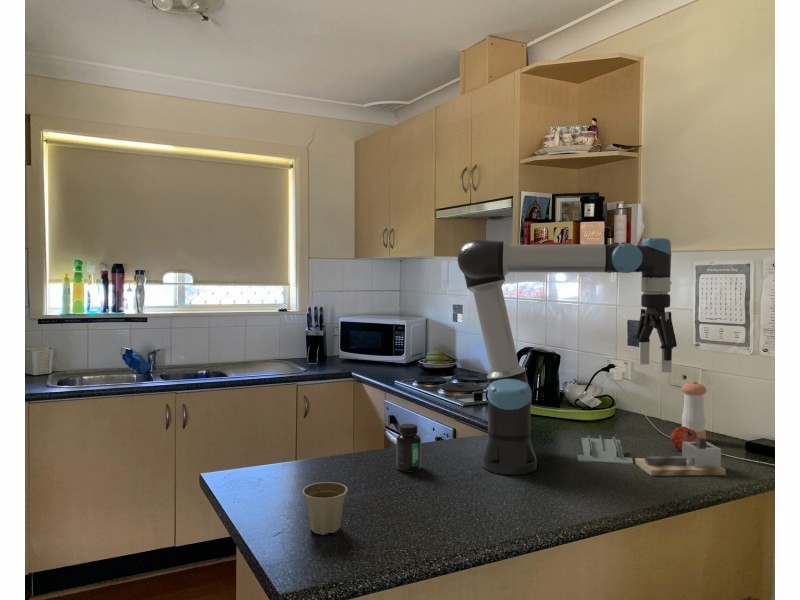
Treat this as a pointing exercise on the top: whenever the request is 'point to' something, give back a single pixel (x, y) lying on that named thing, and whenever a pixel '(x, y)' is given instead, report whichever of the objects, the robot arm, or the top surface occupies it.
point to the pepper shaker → (694, 408)
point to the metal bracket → (603, 451)
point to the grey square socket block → (702, 455)
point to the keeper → (675, 464)
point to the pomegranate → (682, 436)
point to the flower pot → (325, 505)
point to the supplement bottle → (408, 448)
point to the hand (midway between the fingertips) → (654, 368)
